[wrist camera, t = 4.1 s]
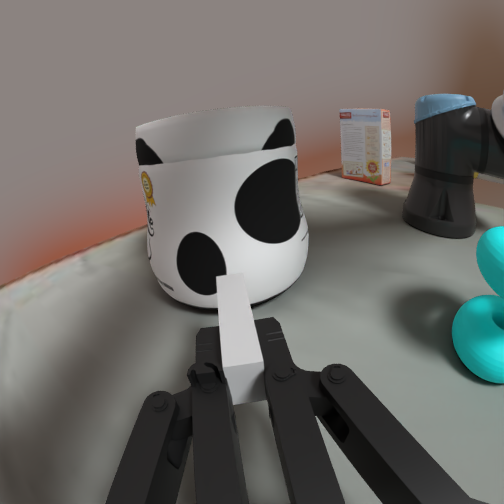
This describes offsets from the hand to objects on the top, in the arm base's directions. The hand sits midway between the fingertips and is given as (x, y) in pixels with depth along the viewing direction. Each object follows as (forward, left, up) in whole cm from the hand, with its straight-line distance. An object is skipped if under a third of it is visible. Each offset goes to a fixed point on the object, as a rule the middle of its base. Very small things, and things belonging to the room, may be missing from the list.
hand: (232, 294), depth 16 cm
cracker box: (-41, -55, -8) cm, 70 cm away
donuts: (-21, +6, -8) cm, 23 cm away
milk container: (0, -14, -8) cm, 16 cm away
